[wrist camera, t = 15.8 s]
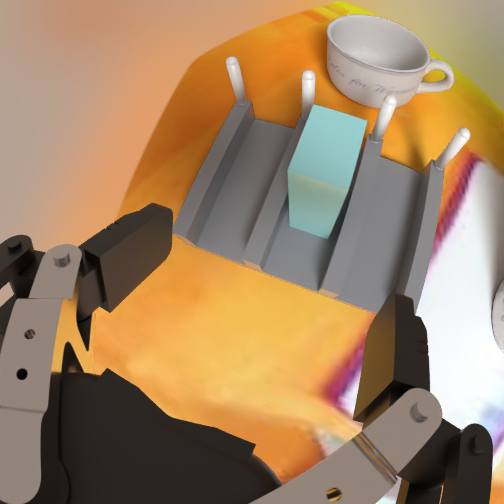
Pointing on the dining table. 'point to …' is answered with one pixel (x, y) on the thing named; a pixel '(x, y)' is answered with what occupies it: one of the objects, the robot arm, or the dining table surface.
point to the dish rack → (347, 223)
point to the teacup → (380, 61)
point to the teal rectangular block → (323, 169)
